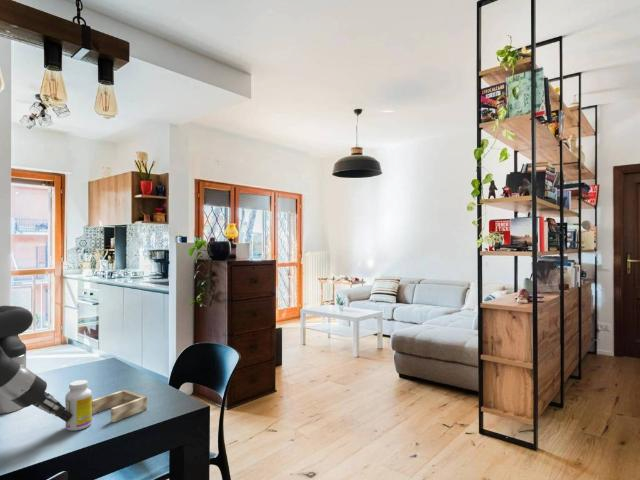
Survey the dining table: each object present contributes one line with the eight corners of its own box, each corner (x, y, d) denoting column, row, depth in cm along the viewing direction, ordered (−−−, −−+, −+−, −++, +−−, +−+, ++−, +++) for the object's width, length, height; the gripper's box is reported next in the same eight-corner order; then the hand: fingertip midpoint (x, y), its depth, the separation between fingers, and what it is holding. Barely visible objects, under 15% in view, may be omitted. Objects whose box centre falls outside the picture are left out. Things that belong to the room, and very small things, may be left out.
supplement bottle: (96, 421, 122) (96, 378, 122) (84, 431, 115) (84, 386, 115) (73, 421, 122) (73, 378, 122) (60, 431, 115) (60, 386, 115)
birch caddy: (113, 422, 121) (113, 409, 121) (90, 413, 128) (90, 400, 128) (146, 409, 130) (146, 397, 130) (124, 401, 137) (124, 389, 137)
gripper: (-2, 393, 106) (47, 424, 116) (18, 404, 99) (69, 437, 109) (22, 368, 111) (68, 400, 121) (44, 377, 104) (91, 411, 113)
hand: (69, 418), depth 115 cm, fingers closed
